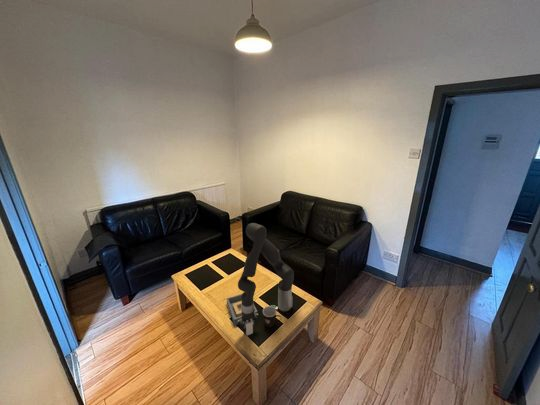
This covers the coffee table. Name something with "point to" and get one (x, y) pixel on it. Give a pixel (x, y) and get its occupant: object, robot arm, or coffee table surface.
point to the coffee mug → (270, 316)
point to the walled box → (236, 308)
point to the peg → (249, 328)
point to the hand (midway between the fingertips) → (248, 329)
